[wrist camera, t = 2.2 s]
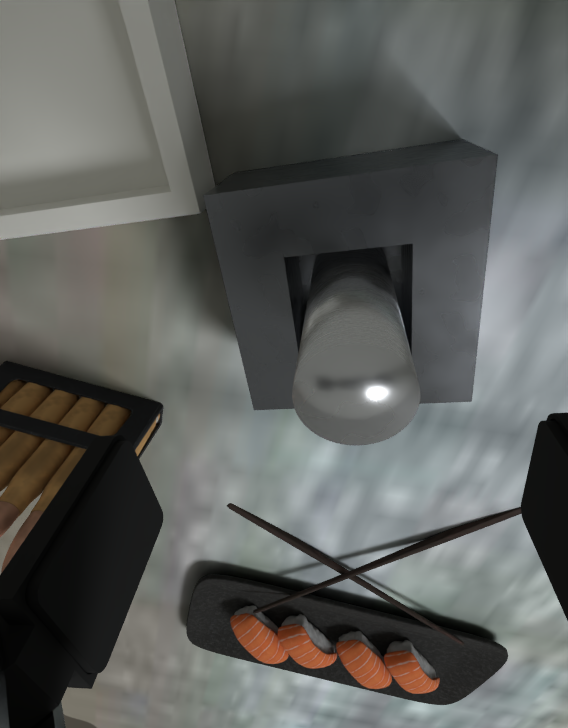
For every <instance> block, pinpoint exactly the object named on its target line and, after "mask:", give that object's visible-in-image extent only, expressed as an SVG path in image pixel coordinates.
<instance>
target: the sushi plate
mask: <svg viewBox="0 0 568 728" xmlns="http://www.w3.org/2000/svg"><path fill="white" fill-rule="evenodd" d="M227 507H229V508H230V509H231V510H233V511H235V512H236V513H238V514H240V515H241V516H243V517H245V518H246V519H248V520H250V521H251V522H253V523H255V524H256V525H258V526H260V527H261V528H263V529H265V530H267V531H268V532H270V533H272V534H273V535H275V536H277V537H278V538H280V539H282V540H284V541H285V542H287V543H289V544H290V545H292V546H294V547H295V548H297V549H299V550H301V551H302V552H304V553H306V554H308V555H309V556H311V557H313V558H314V559H316V560H318V561H320V562H321V563H323V564H325V565H327V566H328V567H330V568H332V569H334V570H335V571H337V572H339V573H340V574H341V575H339V576H337V577H334V578H332V579H329V580H327V581H324V582H322V583H319V584H317V585H314V586H312V587H309V588H307V589H304V590H302V591H299V592H298V591H294V590H290V589H286V588H282V587H278V586H274V585H269V584H265V583H261V582H257V581H253V580H248V579H243V578H239V577H233V576H227V575H207V576H205V577H203V578H201V579H200V580H199V581H198V583H197V584H196V586H195V589H194V592H193V595H192V599H191V603H190V608H189V613H188V619H187V636H188V638H189V640H190V641H191V642H192V644H194V645H196V646H198V647H200V648H203V649H206V650H208V651H212V652H215V653H219V654H222V655H226V656H230V657H234V658H238V659H242V660H246V661H250V662H255V663H259V664H263V665H267V666H271V667H275V668H279V669H283V670H288V671H292V672H296V673H300V674H304V675H308V676H312V677H317V678H321V679H325V680H329V681H333V682H337V683H341V684H345V685H350V686H354V687H358V688H362V689H366V690H370V691H374V692H378V693H383V694H387V695H391V696H395V697H399V698H404V699H408V700H413V701H417V702H422V703H428V704H436V705H447V704H452V703H455V702H457V701H459V700H461V699H463V698H464V697H466V696H467V695H469V694H470V693H471V692H473V691H474V690H475V689H477V688H478V687H479V686H480V685H482V684H483V683H484V682H485V681H486V680H488V679H489V678H490V677H491V676H493V675H494V674H495V673H496V672H497V671H498V670H499V669H500V668H501V667H502V666H503V665H504V664H505V662H506V661H507V658H508V653H507V650H506V648H504V647H503V646H502V645H500V644H498V643H496V642H494V641H492V640H489V639H486V638H483V637H479V636H476V635H472V634H469V633H465V632H461V631H457V630H453V629H449V628H445V627H441V626H437V625H436V624H434V623H432V622H431V621H429V620H427V619H426V618H424V617H423V616H421V615H419V614H418V613H416V612H414V611H413V610H411V609H410V608H408V607H406V606H405V605H403V604H401V603H400V602H398V601H397V600H395V599H393V598H392V597H390V596H388V595H387V594H385V593H384V592H382V591H380V590H379V589H377V588H375V587H374V586H372V585H371V584H369V583H367V582H366V581H364V580H363V579H361V578H359V577H358V576H356V575H358V574H361V573H364V572H366V571H369V570H372V569H374V568H377V567H380V566H382V565H385V564H388V563H391V562H393V561H396V560H399V559H402V558H404V557H407V556H410V555H412V554H415V553H418V552H421V551H423V550H426V549H429V548H432V547H434V546H437V545H440V544H442V543H445V542H448V541H450V540H453V539H456V538H458V537H461V536H463V535H466V534H469V533H471V532H474V531H477V530H479V529H482V528H485V527H487V526H490V525H493V524H495V523H498V522H501V521H503V520H506V519H508V518H511V517H514V516H516V515H519V514H521V507H519V508H516V509H513V510H509V511H506V512H503V513H500V514H496V515H493V516H490V517H487V518H484V519H480V520H477V521H474V522H471V523H468V524H464V525H461V526H458V527H455V528H452V529H449V530H447V531H444V532H442V533H439V534H437V535H435V536H432V537H430V538H427V539H425V540H423V541H420V542H418V543H416V544H413V545H411V546H408V547H406V548H404V549H401V550H399V551H397V552H394V553H392V554H390V555H387V556H385V557H382V558H380V559H378V560H375V561H373V562H371V563H368V564H366V565H363V566H361V567H359V568H356V569H354V570H351V571H348V570H347V569H345V568H344V567H342V566H340V565H339V564H337V563H336V562H334V561H333V560H331V559H329V558H328V557H326V556H325V555H323V554H322V553H320V552H318V551H317V550H315V549H314V548H312V547H311V546H309V545H307V544H306V543H304V542H303V541H301V540H300V539H298V538H296V537H294V536H293V535H291V534H289V533H287V532H285V531H283V530H281V529H279V528H278V527H276V526H274V525H272V524H270V523H268V522H266V521H264V520H262V519H260V518H259V517H257V516H255V515H253V514H251V513H249V512H247V511H245V510H243V509H241V508H239V507H238V506H236V505H234V504H231V503H229V504H228V505H227ZM348 578H349V579H351V580H353V581H354V582H356V583H358V584H359V585H361V586H363V587H365V588H366V589H368V590H370V591H371V592H373V593H375V594H376V595H378V596H380V597H381V598H383V599H385V600H386V601H388V602H390V603H391V604H393V605H395V606H396V607H398V608H400V609H401V610H403V611H405V612H407V613H408V614H410V615H412V616H413V617H415V618H417V619H418V620H420V621H416V620H412V619H408V618H404V617H400V616H396V615H392V614H388V613H384V612H380V611H376V610H372V609H368V608H363V607H359V606H355V605H351V604H347V603H343V602H339V601H335V600H331V599H327V598H323V597H319V596H315V595H310V594H309V593H311V592H314V591H316V590H319V589H322V588H324V587H327V586H330V585H332V584H335V583H337V582H340V581H343V580H345V579H348ZM421 621H422V622H421Z"/></svg>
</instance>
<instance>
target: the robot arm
mask: <svg viewBox="0 0 568 728" xmlns="http://www.w3.org/2000/svg"><path fill="white" fill-rule="evenodd" d="M521 513H522V518H523V521H524V523H525V525H526V528H527V530H528V532H529V535H530V537H531V539H532V541H533V544H534V546H535V548H536V550H537V553H538V555H539V557H540V559H541V562H542V564H543V566H544V568H545V571H546V573H547V575H548V577H549V580H550V582H551V584H552V586H553V589H554V591H555V593H556V595H557V598H558V600H559V602H560V605H561V607H562V609H563V611H564V614H565V616H566V618H567V620H568V413H553V414H550V415H549V416H548V418H547V420H546V421H541V422H540V423H539V425H538V429H537V434H536V438H535V443H534V447H533V452H532V456H531V461H530V466H529V470H528V475H527V479H526V484H525V488H524V493H523V498H522V502H521ZM162 523H163V512H162V509H161V507H160V505H159V502H158V500H157V498H156V496H155V494H154V491H153V489H152V487H151V485H150V483H149V480H148V478H147V476H146V474H145V472H144V469H143V467H142V465H141V463H140V461H139V458H138V456H137V454H136V452H135V450H134V447H133V445H132V444H131V442H130V441H126V439H125V438H124V437H123V436H122V435H110V436H98V437H96V438H95V439H94V440H93V441H92V442H91V444H90V445H89V447H88V448H87V450H86V451H85V453H84V454H83V456H82V457H81V458H80V460H79V461H78V463H77V464H76V466H75V467H74V469H73V470H72V472H71V473H70V474H69V476H68V477H67V479H66V480H65V482H64V483H63V485H62V486H61V488H60V489H59V490H58V492H57V493H56V495H55V496H54V498H53V499H52V501H51V502H50V504H49V505H48V506H47V508H46V509H45V511H44V512H43V514H42V515H41V517H40V518H39V520H38V521H37V522H36V524H35V525H34V527H33V528H32V530H31V531H30V533H29V534H28V535H27V537H26V538H25V540H24V541H23V543H22V544H21V546H20V547H19V549H18V550H17V551H16V553H15V554H14V556H13V557H12V559H11V560H10V562H9V563H8V565H7V566H6V567H5V569H4V570H3V572H2V573H1V575H0V728H66V727H65V721H64V715H63V709H62V704H61V700H62V698H63V695H64V693H65V691H66V689H67V686H68V687H72V688H89V689H92V686H93V684H94V682H95V679H96V677H97V674H98V673H101V672H102V671H103V670H104V669H105V667H106V665H107V663H108V661H109V659H110V656H111V653H112V651H113V648H114V646H115V643H116V641H117V638H118V636H119V633H120V631H121V628H122V626H123V623H124V621H125V618H126V615H127V613H128V610H129V608H130V605H131V603H132V600H133V598H134V595H135V593H136V590H137V588H138V585H139V582H140V580H141V577H142V575H143V572H144V570H145V567H146V565H147V562H148V560H149V557H150V555H151V552H152V549H153V547H154V544H155V542H156V539H157V537H158V534H159V532H160V529H161V527H162Z"/></svg>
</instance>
